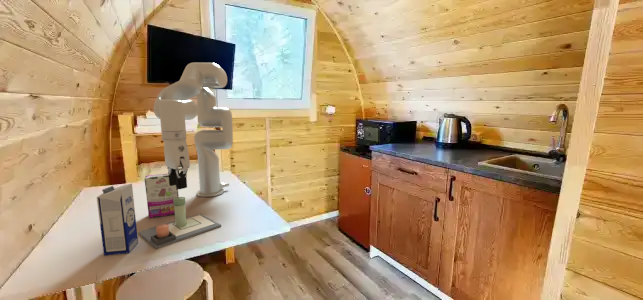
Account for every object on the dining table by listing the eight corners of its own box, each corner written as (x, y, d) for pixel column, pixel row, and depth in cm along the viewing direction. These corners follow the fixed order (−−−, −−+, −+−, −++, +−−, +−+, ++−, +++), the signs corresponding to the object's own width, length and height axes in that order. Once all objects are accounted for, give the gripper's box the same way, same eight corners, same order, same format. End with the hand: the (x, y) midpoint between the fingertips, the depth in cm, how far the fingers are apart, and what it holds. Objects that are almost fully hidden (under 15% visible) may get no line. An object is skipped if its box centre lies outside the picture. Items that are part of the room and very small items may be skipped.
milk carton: (129, 253, 87) (121, 189, 84) (103, 255, 86) (95, 190, 82) (138, 242, 94) (132, 182, 91) (115, 244, 93) (107, 183, 89)
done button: (166, 231, 97) (165, 223, 96) (171, 234, 94) (170, 226, 94) (154, 235, 94) (154, 226, 94) (159, 238, 92) (158, 229, 91)
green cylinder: (184, 222, 108) (182, 196, 106) (188, 224, 105) (187, 198, 104) (173, 225, 105) (171, 198, 103) (178, 228, 102) (176, 201, 101)
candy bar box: (179, 209, 122) (176, 172, 120) (180, 213, 118) (177, 174, 115) (149, 214, 117) (145, 175, 115) (148, 218, 113) (144, 177, 110)
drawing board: (200, 215, 116) (200, 210, 116) (221, 226, 106) (220, 221, 106) (138, 233, 100) (138, 228, 100) (156, 248, 90) (155, 243, 89)
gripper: (196, 137, 97) (200, 189, 100) (175, 133, 108) (178, 180, 111) (173, 139, 91) (177, 194, 94) (153, 134, 103) (157, 184, 106)
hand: (178, 186), depth 103 cm, fingers open, 5 cm apart
